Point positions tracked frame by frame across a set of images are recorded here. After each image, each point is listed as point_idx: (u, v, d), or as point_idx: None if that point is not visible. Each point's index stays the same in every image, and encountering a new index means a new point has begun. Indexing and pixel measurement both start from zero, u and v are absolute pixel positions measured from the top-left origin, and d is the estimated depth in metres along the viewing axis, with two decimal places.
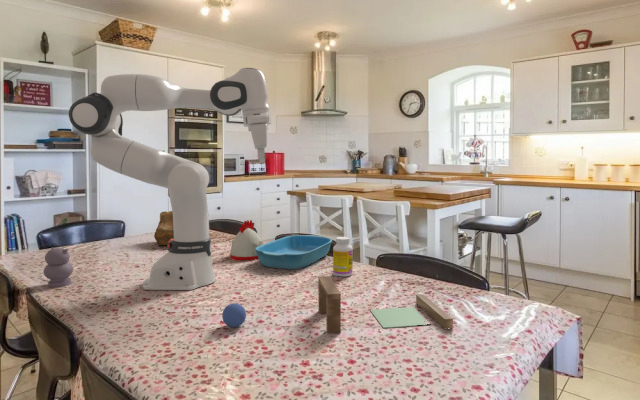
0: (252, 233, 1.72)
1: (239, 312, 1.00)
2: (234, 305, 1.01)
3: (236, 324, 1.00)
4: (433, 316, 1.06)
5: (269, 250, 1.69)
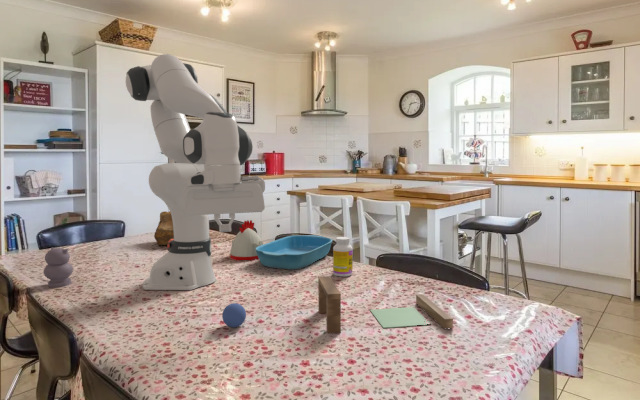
0: (252, 233, 1.72)
1: (239, 312, 1.00)
2: (234, 305, 1.01)
3: (236, 324, 1.00)
4: (433, 316, 1.06)
5: (269, 250, 1.69)
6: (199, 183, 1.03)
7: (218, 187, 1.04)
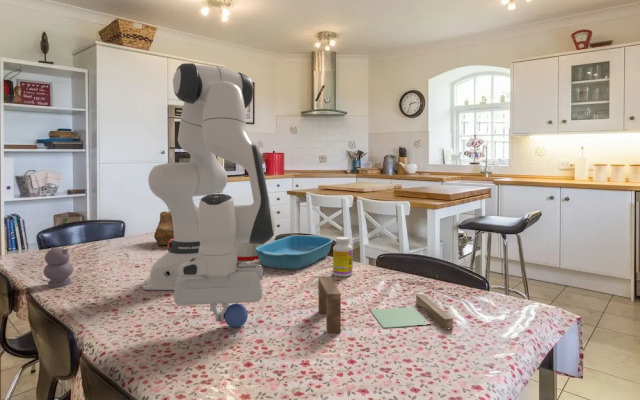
0: None
1: (242, 312, 1.01)
2: (237, 305, 1.01)
3: (238, 324, 1.00)
4: (433, 316, 1.06)
5: (269, 250, 1.69)
6: (192, 273, 0.96)
7: (212, 277, 0.97)
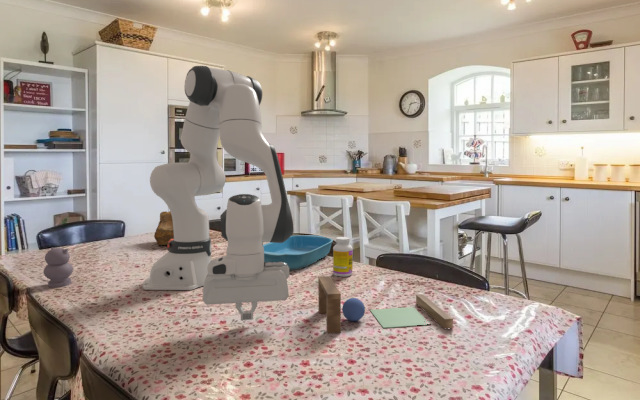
0: None
1: (346, 315, 1.04)
2: None
3: (354, 307, 1.03)
4: (433, 316, 1.06)
5: (270, 250, 1.69)
6: (221, 273, 0.98)
7: (241, 276, 0.99)
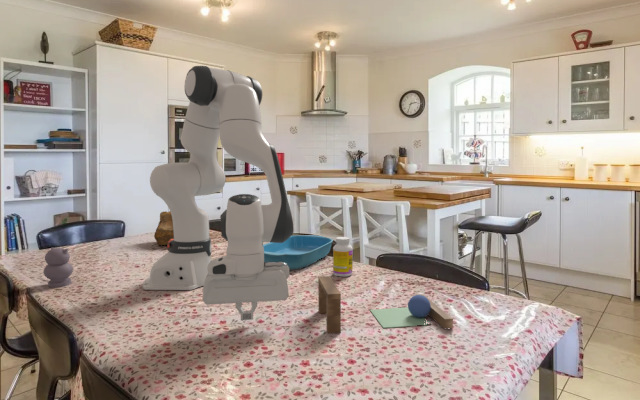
0: None
1: (414, 312, 1.06)
2: None
3: (421, 303, 1.05)
4: (433, 316, 1.06)
5: (270, 250, 1.69)
6: (221, 273, 0.98)
7: (241, 276, 0.99)
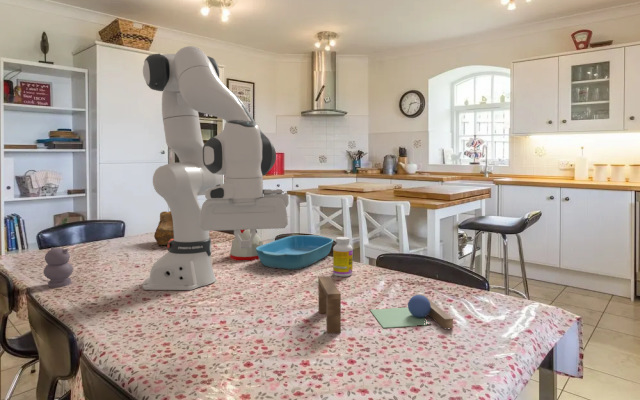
0: None
1: (414, 312, 1.06)
2: None
3: (421, 303, 1.05)
4: (433, 316, 1.06)
5: (270, 250, 1.69)
6: (219, 197, 0.96)
7: (239, 201, 0.97)
